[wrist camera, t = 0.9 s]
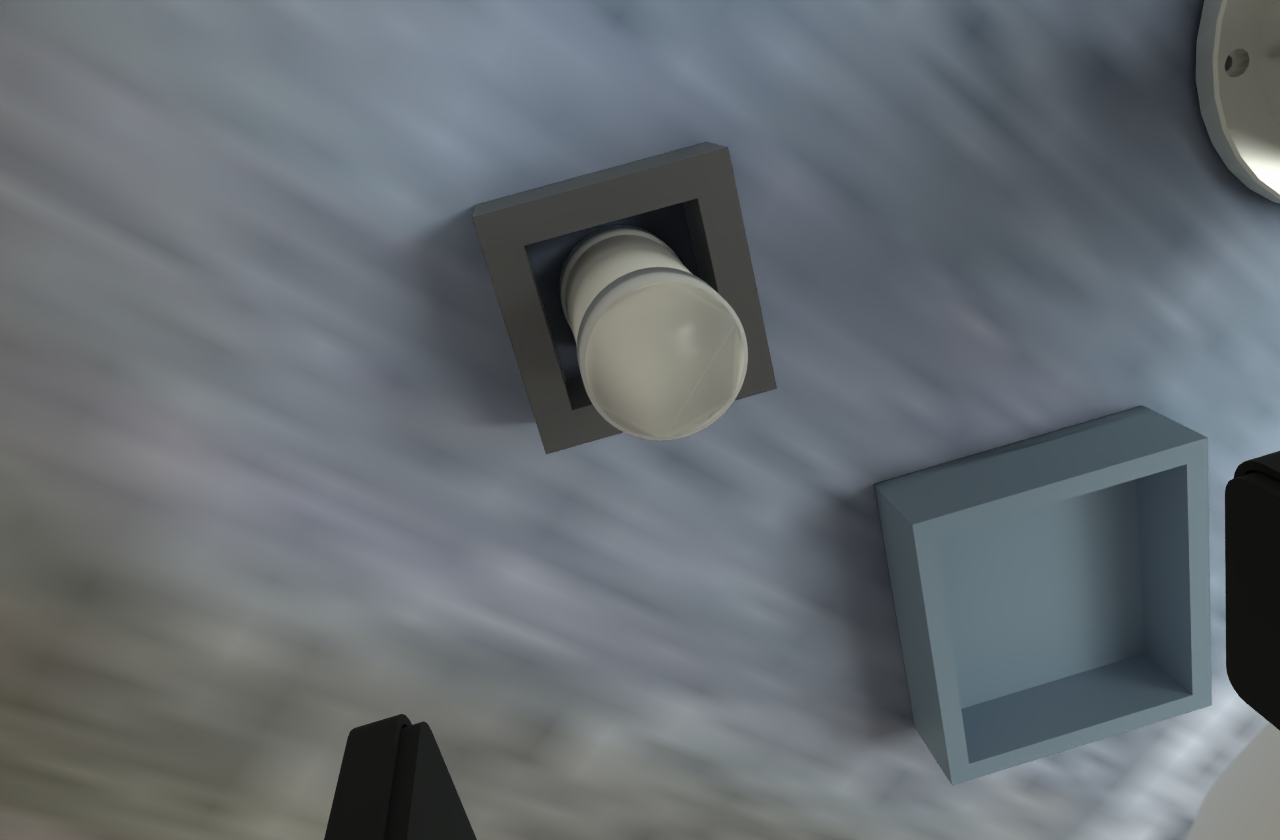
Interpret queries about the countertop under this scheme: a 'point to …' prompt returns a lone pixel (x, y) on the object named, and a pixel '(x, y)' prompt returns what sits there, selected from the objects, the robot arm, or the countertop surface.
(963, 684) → the parts tray
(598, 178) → the frame
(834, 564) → the countertop surface
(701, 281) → the cylinder
